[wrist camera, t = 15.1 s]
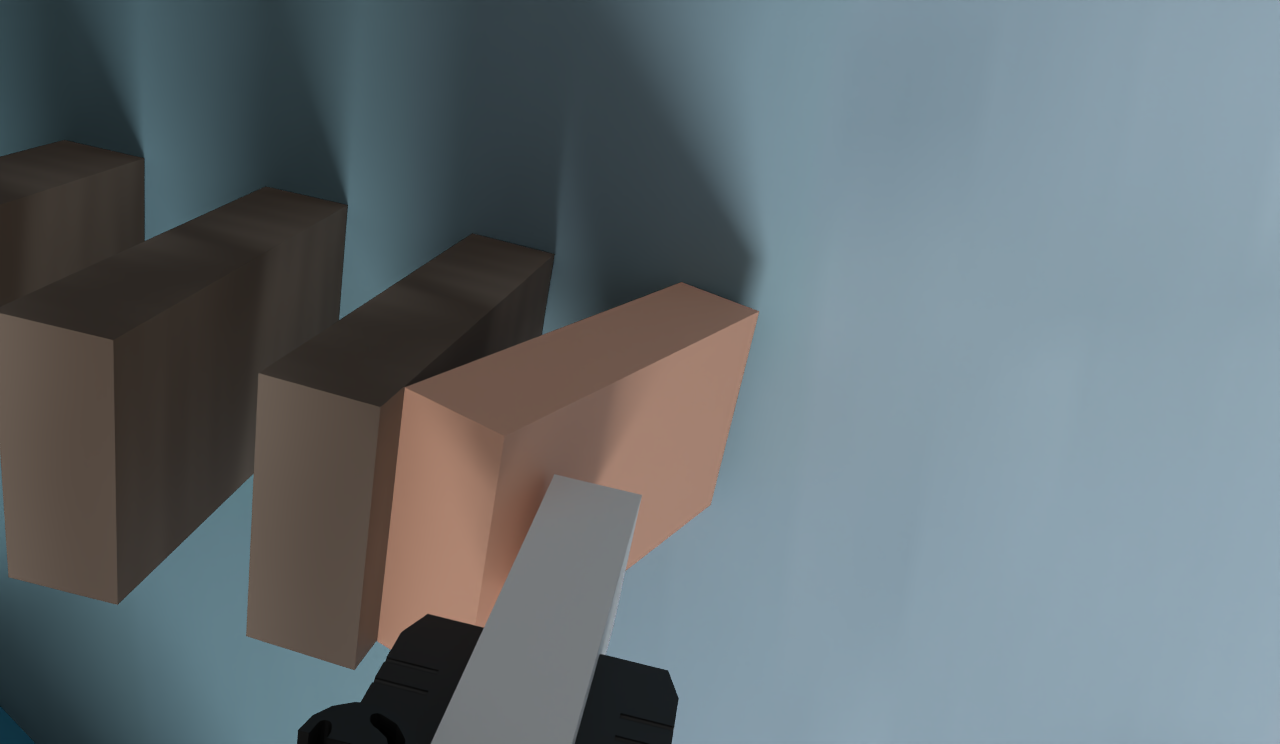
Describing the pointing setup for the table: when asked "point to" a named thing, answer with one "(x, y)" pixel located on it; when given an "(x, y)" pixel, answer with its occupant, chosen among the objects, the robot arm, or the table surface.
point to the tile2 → (365, 438)
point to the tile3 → (153, 385)
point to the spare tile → (559, 443)
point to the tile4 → (65, 212)
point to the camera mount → (11, 731)
